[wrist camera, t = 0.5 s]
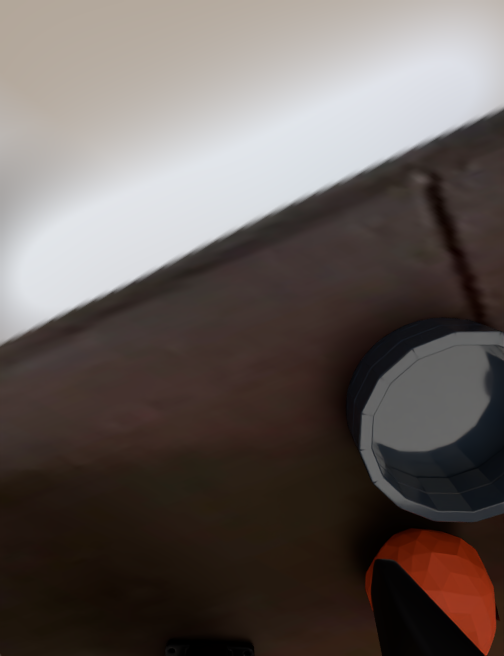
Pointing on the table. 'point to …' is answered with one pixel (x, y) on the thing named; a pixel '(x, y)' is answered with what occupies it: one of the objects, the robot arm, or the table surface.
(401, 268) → the table surface
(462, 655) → the robot arm
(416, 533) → the pumpkin
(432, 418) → the blue round dish
